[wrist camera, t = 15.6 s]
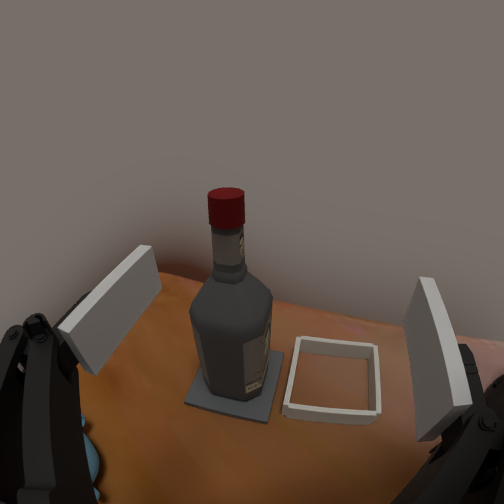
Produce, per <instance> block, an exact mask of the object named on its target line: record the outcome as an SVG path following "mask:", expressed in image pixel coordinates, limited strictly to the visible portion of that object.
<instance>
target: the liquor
mask: <svg viewBox="0 0 504 504" xmlns="http://www.w3.org/2000/svg"><path fill="white" fill-rule="evenodd" d="M208 210H209V211H208V212H209V224H210V225H211V232H212V246H213V261H214V268H213V271H212V275H211V276H210V277H209V278H208V279H207V280H206V281H205V283H204V285H203V286H202V288H201V289H200V291H199V292H198V294H197V295H196V297H195V299H194V300H193V302H192V303H191V307H190V310H189V313H190V318H191V323H192V328H193V333H194V338H195V342H196V347H197V351H198V356H199V360H200V365H201V369H202V373H203V377H204V381H205V382H206V384H207V386H208V387H209V389H210V391H211V392H212V393H214V394H217V395H221V396H225V397H230V398H234V399H238V400H243V401H246V400H248V399H250V398H252V397H254V396H256V395H258V394H260V393H261V392H262V388H263V385H264V381H265V377H266V374H267V370H268V365H269V350H270V335H271V318H272V300H273V296H272V294H271V292H270V290H269V289H268V288H267V287H266V286H265V285H264V284H263V283H262V282H260V280H259V279H257V278H256V277H255V276H253V275H252V274H251V273H249V272H248V271H247V266H246V264H245V256H244V227H243V224H244V223H245V203H244V191H243V190H241V189H238V188H219V189H214V190H212V191H210V192H209V193H208Z"/></svg>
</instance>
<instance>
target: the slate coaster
mask: <svg viewBox="0 0 504 504" xmlns="http://www.w3.org/2000/svg"><path fill="white" fill-rule="evenodd" d="M283 357H284V352H278V351H272V350H269V365H268V370H267V374H266V377H265V381H264V385H263V388H262V392H261V393H260V394H258V395H256V396H254V397H252V398H250V399H248V400H246V401H243V400H238V399H234V398H230V397H225V396H221V395H217V394H214V393H212V392H211V391H210V389H209V387H208V386H207V384H206V382H205V381H204V377H203V373H202V369H201V366H200V368H199V370H198V373H197V375H196V377H195V379H194V381H193V383H192V385H191V387H190V389H189V391H188V394H187V396H186V398H185V400H184V403H185V404H186V405H189V406H193V407H196V408H199V409H203V410H206V411H210V412H214V413H218V414H222V415H226V416H230V417H234V418H238V419H243V420H248V421H252V422H257V423H263V424H267V423H268V419H269V415H270V411H271V407H272V403H273V399H274V395H275V391H276V387H277V383H278V378H279V374H280V370H281V365H282V361H283Z"/></svg>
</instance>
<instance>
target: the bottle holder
mask: <svg viewBox="0 0 504 504" xmlns="http://www.w3.org/2000/svg"><path fill="white" fill-rule="evenodd" d="M299 352H305V353H312V354H321V355H329V356H338V357H348V358H359V359H368V375H369V411H365V410H348V409H335V408H324V407H315V406H307V405H299V404H292V403H289V401H290V396H291V391H292V386H293V381H294V376H295V370H296V365H297V359H298V353H299ZM380 414H381V389H380V371H379V358H378V347H377V345H373V343H361V342H351V341H341V340H332V339H324V338H315V337H308V336H301V337H296V343H295V348H294V354H293V359H292V364H291V369H290V374H289V379H288V384H287V389H286V393H285V398H284V403H283V407H282V413H281V415H286V418H291V419H298V420H306V421H315V422H324V423H336V424H351V425H369V424H370V423H374V422H375V421H376V419H377V418H378V417H379V416H380Z"/></svg>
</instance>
